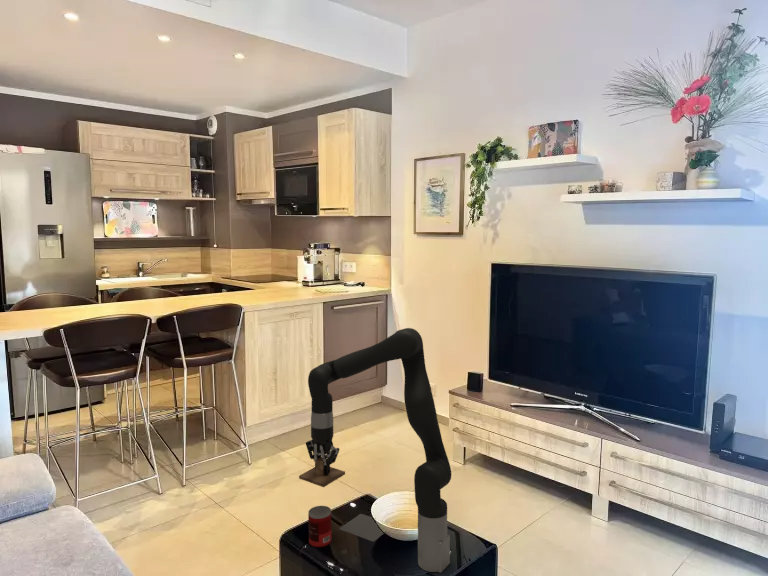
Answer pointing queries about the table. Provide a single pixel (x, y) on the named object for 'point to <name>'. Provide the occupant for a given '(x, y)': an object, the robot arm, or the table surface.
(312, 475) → the lid
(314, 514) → the canned food
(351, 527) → the mat
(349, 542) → the table surface
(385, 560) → the table surface
